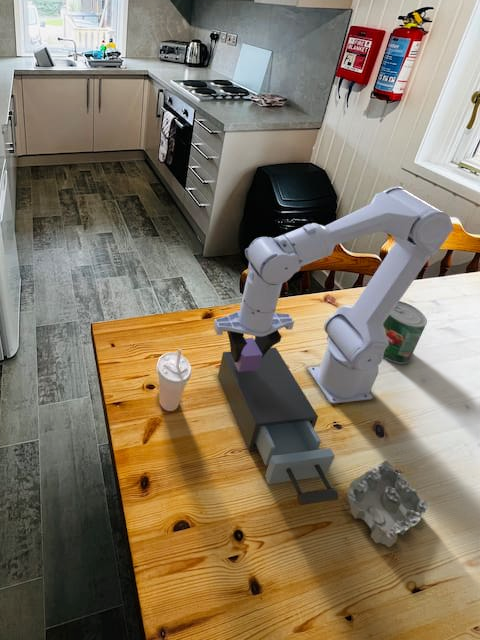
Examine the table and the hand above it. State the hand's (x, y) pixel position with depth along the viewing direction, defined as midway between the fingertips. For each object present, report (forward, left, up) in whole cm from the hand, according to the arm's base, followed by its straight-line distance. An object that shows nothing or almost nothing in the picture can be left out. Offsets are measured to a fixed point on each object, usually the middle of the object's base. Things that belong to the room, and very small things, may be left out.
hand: (245, 356), depth 75 cm
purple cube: (0, 0, -1) cm, 1 cm away
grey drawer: (-3, +12, -10) cm, 15 cm away
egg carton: (-15, +21, -11) cm, 28 cm away
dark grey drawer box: (-3, +3, -10) cm, 11 cm away
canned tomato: (-41, -7, -11) cm, 43 cm away
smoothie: (+14, 0, -11) cm, 18 cm away
